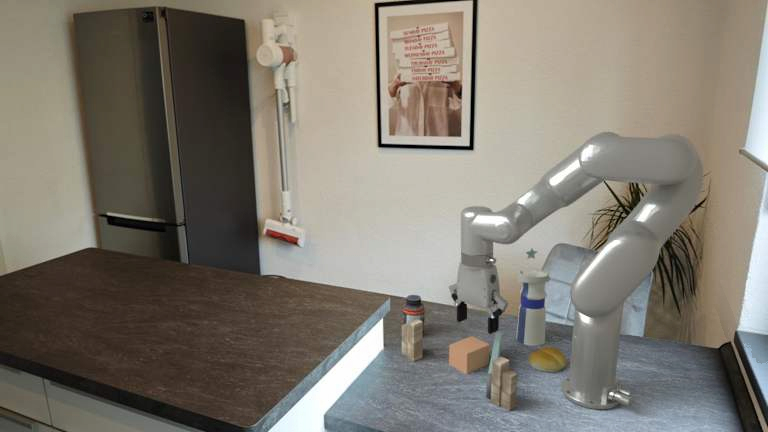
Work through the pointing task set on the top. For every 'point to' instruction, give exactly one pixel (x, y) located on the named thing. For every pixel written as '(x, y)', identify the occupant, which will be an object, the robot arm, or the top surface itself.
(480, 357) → the block
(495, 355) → the pale green flat bar
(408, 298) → the supplement bottle
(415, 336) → the wooden block fence
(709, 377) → the top surface
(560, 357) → the bread roll
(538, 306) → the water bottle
